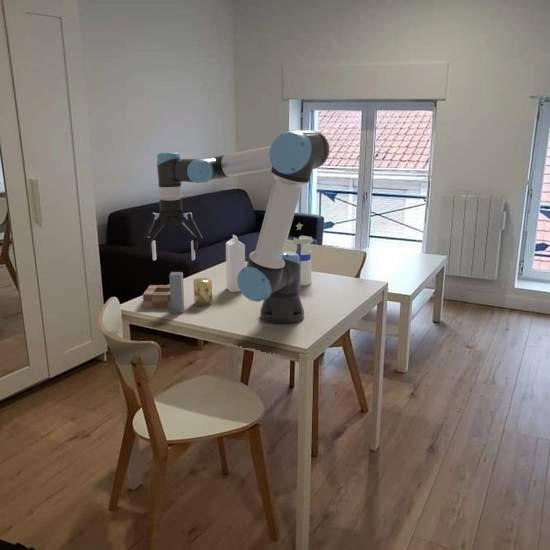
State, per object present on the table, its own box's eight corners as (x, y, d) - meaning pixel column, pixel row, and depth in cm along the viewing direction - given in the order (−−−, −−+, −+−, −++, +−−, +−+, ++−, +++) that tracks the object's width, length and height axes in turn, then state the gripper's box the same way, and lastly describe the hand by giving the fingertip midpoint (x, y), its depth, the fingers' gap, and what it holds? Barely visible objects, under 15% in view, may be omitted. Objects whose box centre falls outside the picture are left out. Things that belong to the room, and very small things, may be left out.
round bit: (211, 306, 206) (210, 282, 204) (193, 306, 206) (192, 282, 204) (213, 300, 213) (212, 277, 210) (195, 300, 213) (194, 277, 210)
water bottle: (287, 283, 236) (288, 224, 229) (300, 278, 242) (301, 221, 236) (303, 286, 231) (304, 226, 224) (315, 282, 237) (317, 223, 230)
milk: (240, 286, 231) (240, 233, 225) (245, 290, 225) (245, 236, 219) (226, 288, 228) (225, 234, 223) (230, 292, 223) (230, 237, 217)
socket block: (176, 307, 205) (176, 294, 203) (143, 307, 204) (142, 294, 203) (181, 297, 216) (181, 285, 215) (150, 297, 216) (149, 285, 215)
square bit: (182, 313, 199) (181, 275, 195) (171, 313, 199) (169, 275, 195) (184, 309, 203) (182, 272, 199) (173, 309, 203) (171, 272, 199)
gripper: (208, 197, 195) (210, 256, 201) (136, 197, 195) (141, 257, 201) (205, 199, 188) (208, 261, 193) (131, 200, 188) (135, 262, 194)
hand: (174, 259), depth 197 cm, fingers open, 13 cm apart
